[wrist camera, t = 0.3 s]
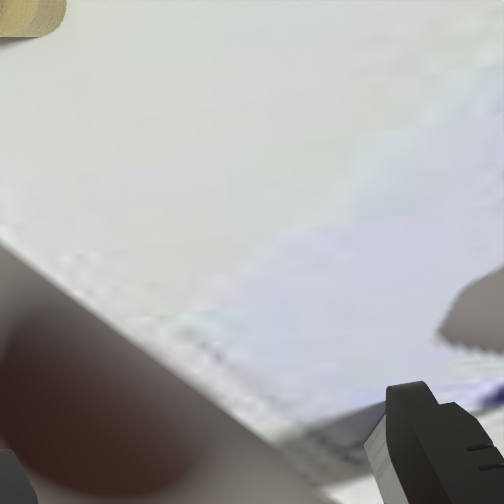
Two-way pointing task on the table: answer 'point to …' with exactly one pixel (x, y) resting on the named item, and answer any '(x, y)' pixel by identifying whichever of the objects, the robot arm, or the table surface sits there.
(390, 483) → the supplement box
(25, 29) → the calibration weight
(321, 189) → the table surface
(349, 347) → the table surface
